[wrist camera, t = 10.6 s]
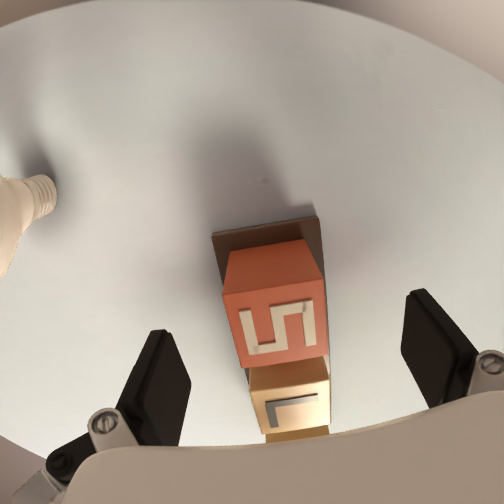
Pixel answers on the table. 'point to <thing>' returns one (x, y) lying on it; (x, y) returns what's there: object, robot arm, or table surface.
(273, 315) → the tile
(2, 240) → the lightbulb
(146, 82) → the table surface
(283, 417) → the word
